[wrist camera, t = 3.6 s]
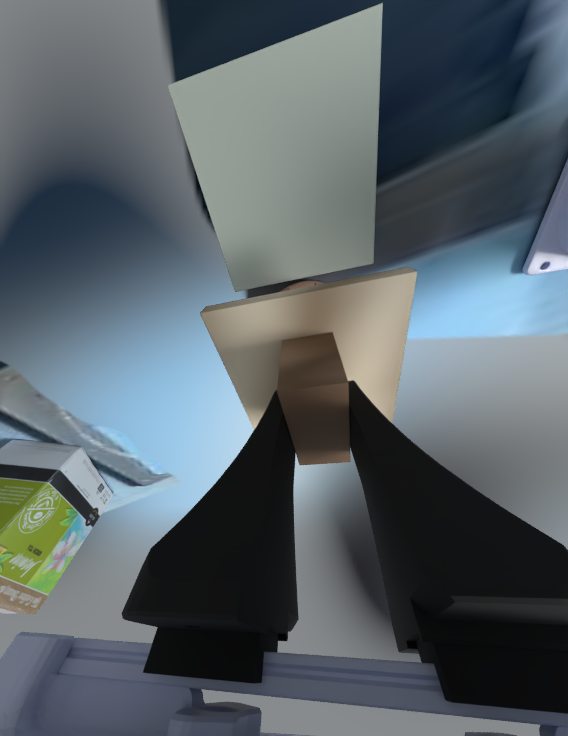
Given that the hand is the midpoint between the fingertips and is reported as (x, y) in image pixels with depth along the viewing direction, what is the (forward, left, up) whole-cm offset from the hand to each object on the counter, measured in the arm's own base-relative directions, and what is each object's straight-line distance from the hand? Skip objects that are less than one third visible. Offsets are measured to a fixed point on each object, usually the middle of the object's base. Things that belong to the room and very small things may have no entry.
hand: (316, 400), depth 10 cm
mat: (0, -9, -9) cm, 13 cm away
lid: (0, 0, -2) cm, 2 cm away
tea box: (+41, +18, -10) cm, 46 cm away
